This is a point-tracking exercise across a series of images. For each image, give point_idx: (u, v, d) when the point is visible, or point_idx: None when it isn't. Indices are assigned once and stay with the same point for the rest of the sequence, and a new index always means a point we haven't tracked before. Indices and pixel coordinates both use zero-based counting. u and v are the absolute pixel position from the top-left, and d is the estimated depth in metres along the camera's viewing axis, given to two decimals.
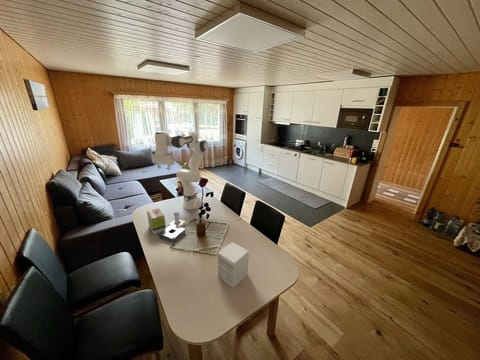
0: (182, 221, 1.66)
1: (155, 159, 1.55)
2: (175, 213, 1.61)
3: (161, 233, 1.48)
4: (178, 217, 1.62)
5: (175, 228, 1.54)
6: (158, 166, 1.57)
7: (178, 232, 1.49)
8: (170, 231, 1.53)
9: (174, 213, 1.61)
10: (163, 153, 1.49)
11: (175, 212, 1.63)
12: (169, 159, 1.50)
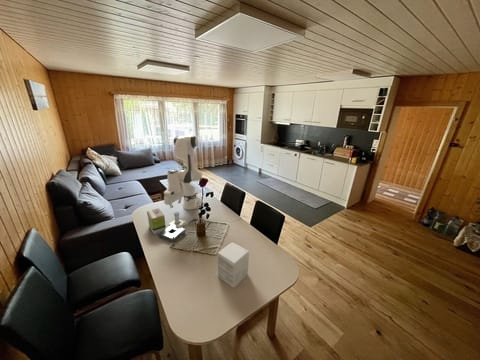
0: (182, 221, 1.66)
1: (171, 199, 1.51)
2: (175, 213, 1.61)
3: (161, 233, 1.48)
4: (178, 217, 1.62)
5: (175, 228, 1.54)
6: (172, 205, 1.54)
7: (178, 232, 1.49)
8: (170, 231, 1.53)
9: (174, 213, 1.61)
10: None
11: (175, 212, 1.63)
12: (183, 191, 1.63)
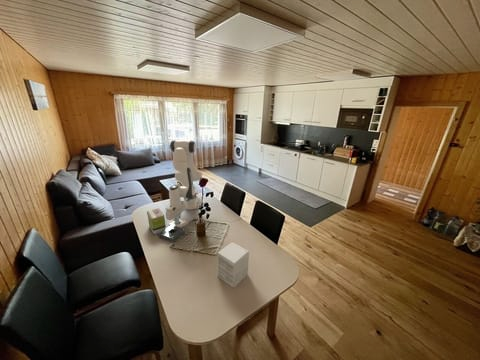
0: (182, 221, 1.66)
1: (172, 215, 1.55)
2: None
3: (161, 233, 1.48)
4: (178, 217, 1.62)
5: (175, 228, 1.54)
6: (175, 219, 1.60)
7: (178, 232, 1.49)
8: (170, 231, 1.53)
9: None
10: None
11: None
12: (184, 205, 1.67)
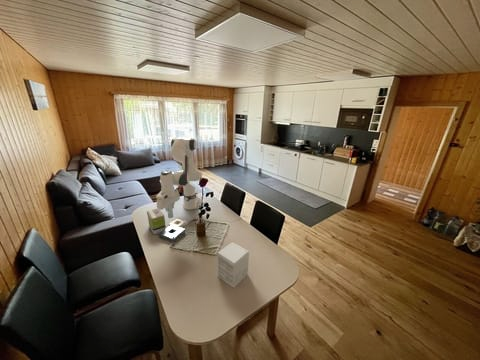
0: (182, 221, 1.66)
1: (164, 204, 1.36)
2: None
3: (161, 233, 1.48)
4: (171, 207, 1.43)
5: (175, 228, 1.54)
6: (168, 209, 1.41)
7: (178, 232, 1.49)
8: (170, 231, 1.53)
9: None
10: None
11: None
12: (178, 194, 1.48)
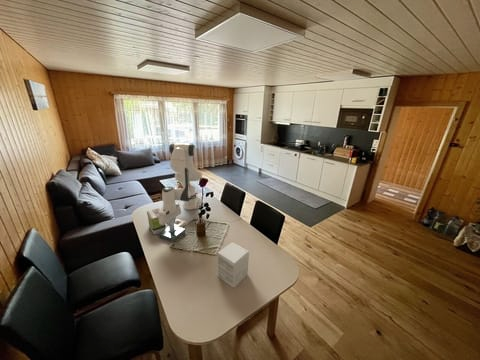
0: (182, 221, 1.66)
1: (166, 219, 1.40)
2: None
3: (161, 233, 1.48)
4: (173, 222, 1.47)
5: (175, 228, 1.54)
6: (169, 224, 1.45)
7: (178, 232, 1.49)
8: None
9: None
10: None
11: None
12: (179, 209, 1.52)
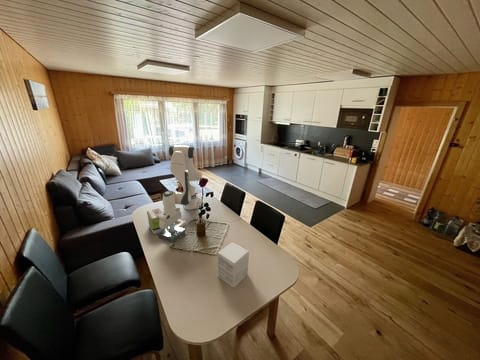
0: (182, 221, 1.66)
1: (167, 223, 1.41)
2: None
3: (161, 233, 1.48)
4: (173, 226, 1.49)
5: (175, 228, 1.54)
6: (169, 228, 1.46)
7: (178, 232, 1.49)
8: None
9: None
10: None
11: None
12: (179, 213, 1.53)
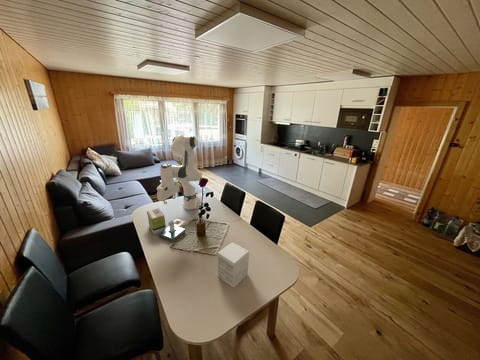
0: (182, 221, 1.66)
1: (164, 195, 1.43)
2: (170, 222, 1.48)
3: (161, 233, 1.48)
4: (173, 226, 1.49)
5: (175, 228, 1.54)
6: (166, 201, 1.46)
7: (178, 232, 1.49)
8: None
9: (169, 222, 1.48)
10: None
11: (170, 221, 1.49)
12: (177, 186, 1.55)
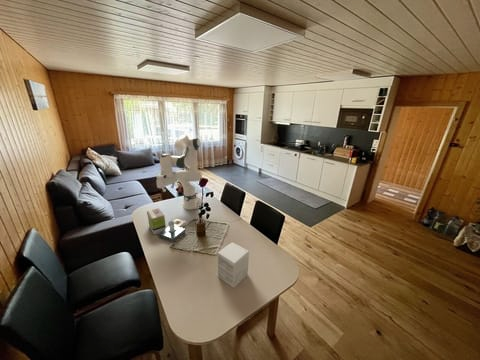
0: (182, 221, 1.66)
1: (163, 183, 1.51)
2: (170, 222, 1.48)
3: (161, 233, 1.48)
4: (173, 226, 1.49)
5: (175, 228, 1.54)
6: (165, 189, 1.55)
7: (178, 232, 1.49)
8: None
9: (169, 222, 1.48)
10: None
11: (170, 221, 1.49)
12: (176, 176, 1.64)
